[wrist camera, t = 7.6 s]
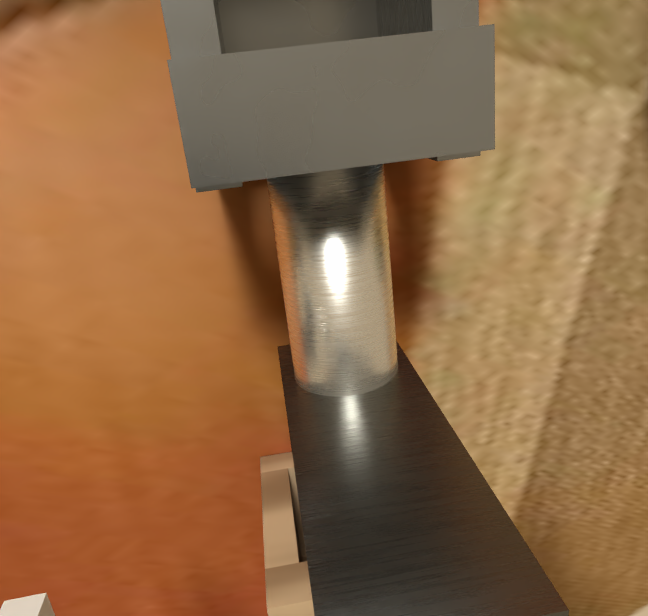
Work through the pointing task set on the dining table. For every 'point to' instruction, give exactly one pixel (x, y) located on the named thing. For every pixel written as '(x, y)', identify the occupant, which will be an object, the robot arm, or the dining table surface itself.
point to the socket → (284, 540)
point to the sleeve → (327, 84)
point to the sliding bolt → (380, 430)
